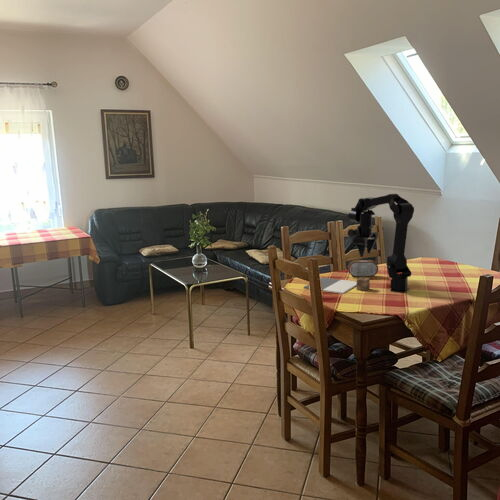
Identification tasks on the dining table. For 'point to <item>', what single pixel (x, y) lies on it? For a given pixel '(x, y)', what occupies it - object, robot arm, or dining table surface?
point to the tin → (363, 268)
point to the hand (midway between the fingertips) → (365, 254)
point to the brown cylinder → (363, 284)
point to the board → (335, 285)
